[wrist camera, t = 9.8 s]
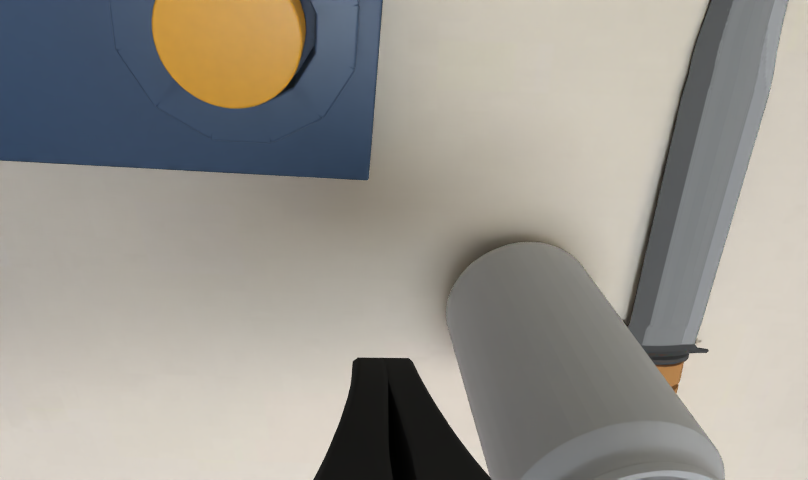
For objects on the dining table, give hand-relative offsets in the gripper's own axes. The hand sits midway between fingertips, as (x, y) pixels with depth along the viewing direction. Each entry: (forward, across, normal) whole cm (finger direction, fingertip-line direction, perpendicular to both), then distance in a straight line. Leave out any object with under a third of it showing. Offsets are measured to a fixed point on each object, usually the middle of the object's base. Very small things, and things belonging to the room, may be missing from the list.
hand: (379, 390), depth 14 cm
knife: (+11, -14, +2) cm, 18 cm away
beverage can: (+11, -7, +4) cm, 13 cm away
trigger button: (+7, +4, -7) cm, 11 cm away
